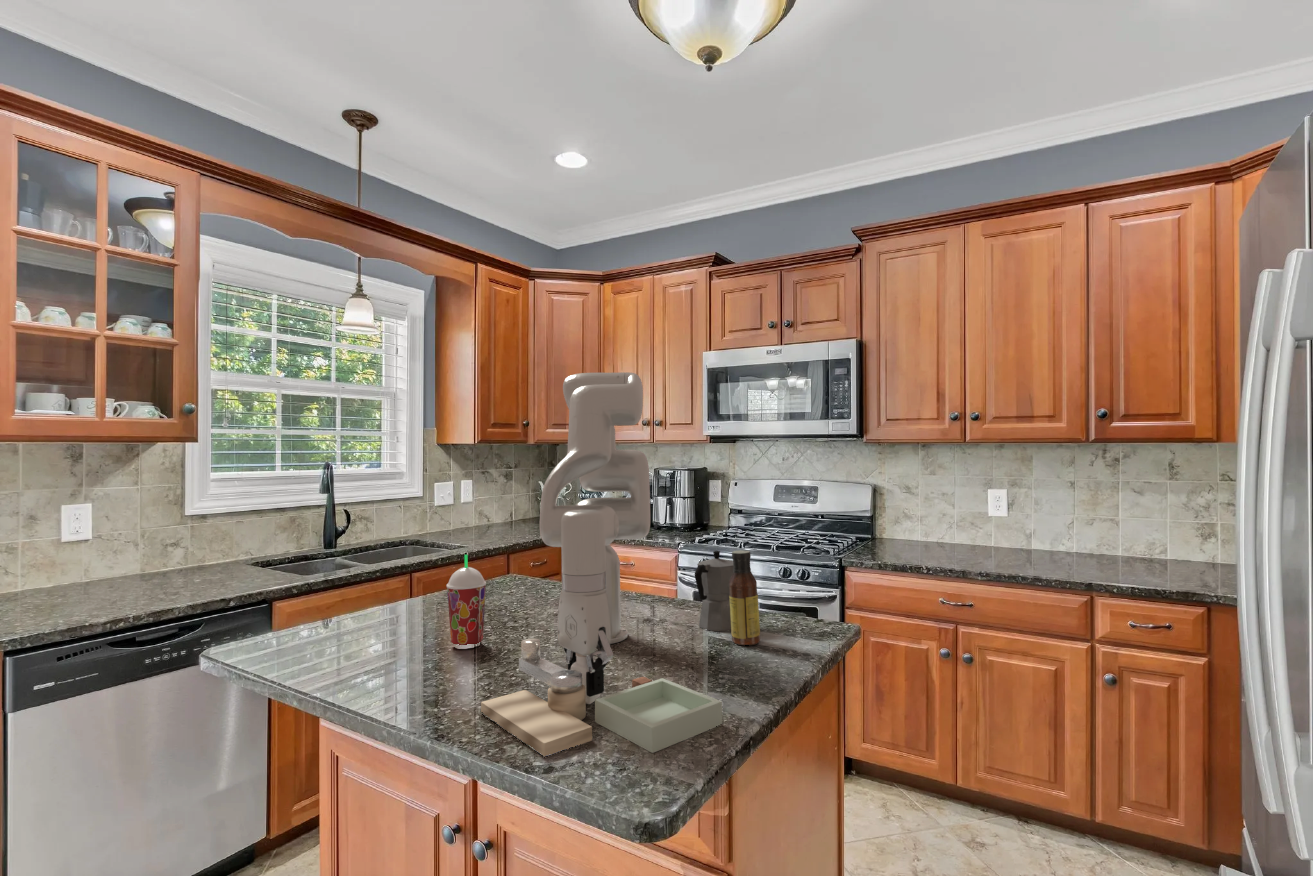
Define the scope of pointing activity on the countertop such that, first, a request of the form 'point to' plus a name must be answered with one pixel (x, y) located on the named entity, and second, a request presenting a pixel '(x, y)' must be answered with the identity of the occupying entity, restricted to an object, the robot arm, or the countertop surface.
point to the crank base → (545, 718)
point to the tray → (658, 714)
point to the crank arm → (547, 669)
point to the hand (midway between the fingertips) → (585, 688)
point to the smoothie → (466, 605)
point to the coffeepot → (714, 592)
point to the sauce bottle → (743, 601)
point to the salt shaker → (583, 674)
